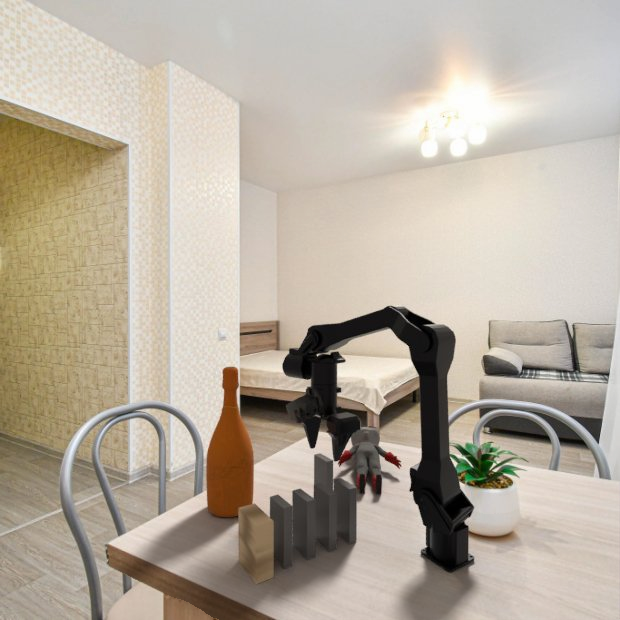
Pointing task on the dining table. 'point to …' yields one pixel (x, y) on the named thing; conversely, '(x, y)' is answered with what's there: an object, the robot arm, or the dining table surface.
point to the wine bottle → (229, 456)
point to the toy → (368, 457)
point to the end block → (256, 542)
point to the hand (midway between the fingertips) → (323, 454)
